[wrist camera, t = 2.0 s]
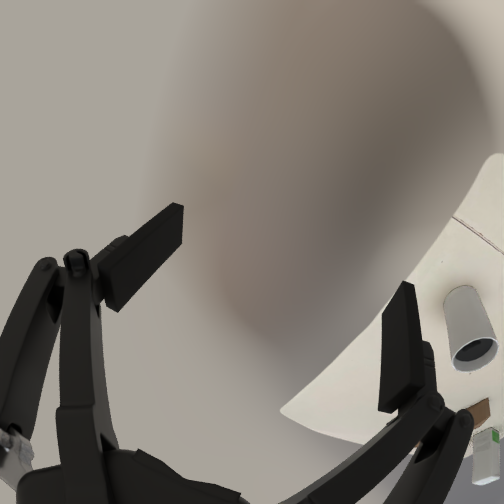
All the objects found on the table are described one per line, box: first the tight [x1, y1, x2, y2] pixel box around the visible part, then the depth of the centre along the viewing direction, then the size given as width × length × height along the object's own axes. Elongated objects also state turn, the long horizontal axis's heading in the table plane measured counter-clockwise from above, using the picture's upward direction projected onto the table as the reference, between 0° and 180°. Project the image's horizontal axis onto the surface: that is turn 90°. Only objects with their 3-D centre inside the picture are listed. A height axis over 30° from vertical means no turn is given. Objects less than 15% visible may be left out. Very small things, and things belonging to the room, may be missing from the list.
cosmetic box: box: [472, 427, 500, 485], centre depth 41 cm, size 8×7×16 cm
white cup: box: [444, 286, 499, 372], centre depth 29 cm, size 7×7×10 cm
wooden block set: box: [415, 398, 490, 447], centre depth 45 cm, size 17×6×18 cm
